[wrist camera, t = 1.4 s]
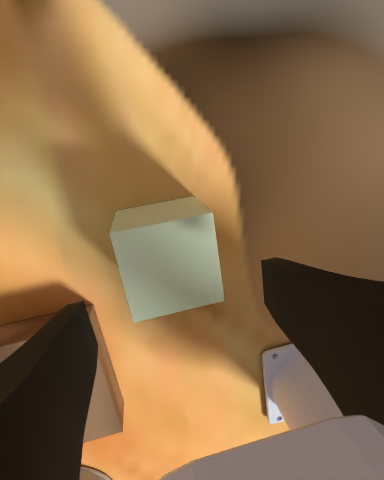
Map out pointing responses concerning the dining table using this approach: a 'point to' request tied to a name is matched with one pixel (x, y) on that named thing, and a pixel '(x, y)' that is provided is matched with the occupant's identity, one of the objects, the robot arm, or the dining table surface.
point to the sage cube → (167, 257)
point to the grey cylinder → (92, 474)
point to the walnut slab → (105, 385)
